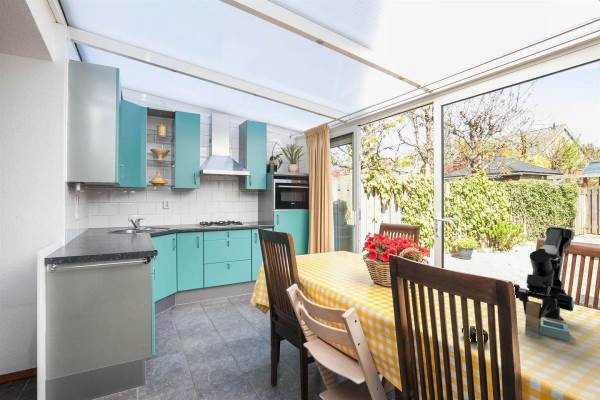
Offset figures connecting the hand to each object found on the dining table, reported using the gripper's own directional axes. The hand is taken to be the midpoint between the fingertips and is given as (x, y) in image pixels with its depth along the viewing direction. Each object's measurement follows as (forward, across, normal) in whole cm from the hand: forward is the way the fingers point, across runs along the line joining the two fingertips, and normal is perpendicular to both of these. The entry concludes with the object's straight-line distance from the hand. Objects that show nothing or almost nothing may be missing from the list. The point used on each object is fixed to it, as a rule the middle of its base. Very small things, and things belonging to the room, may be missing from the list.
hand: (532, 316), depth 102 cm
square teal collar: (-2, +4, +11) cm, 12 cm away
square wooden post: (+4, 0, +6) cm, 7 cm away
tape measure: (+20, -10, -10) cm, 25 cm away
